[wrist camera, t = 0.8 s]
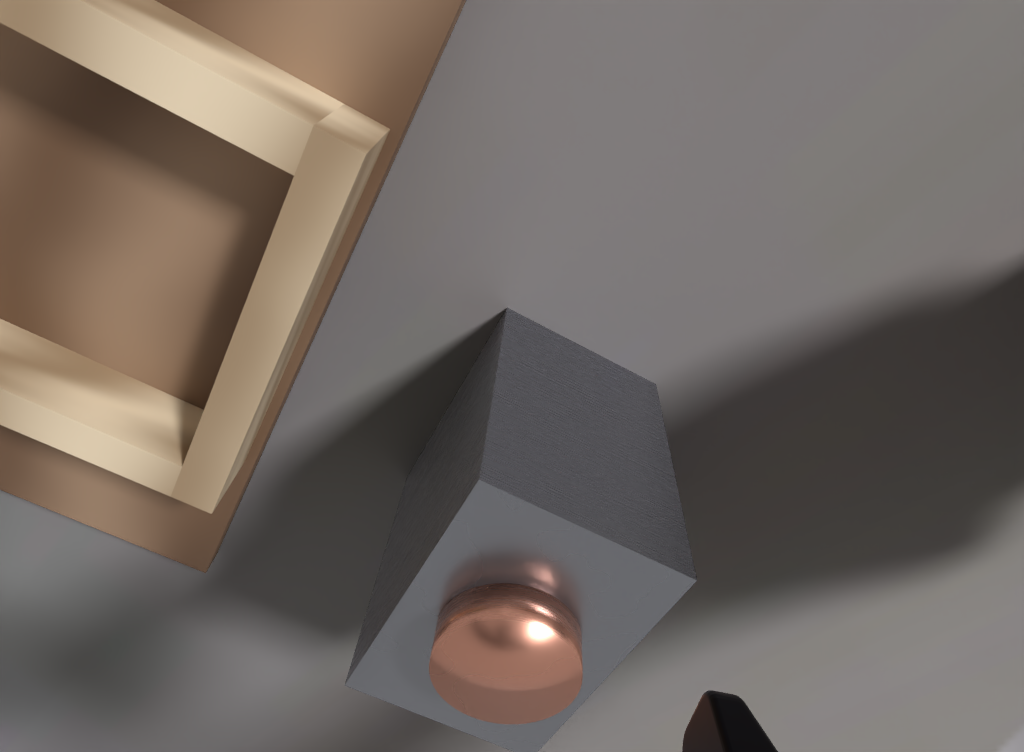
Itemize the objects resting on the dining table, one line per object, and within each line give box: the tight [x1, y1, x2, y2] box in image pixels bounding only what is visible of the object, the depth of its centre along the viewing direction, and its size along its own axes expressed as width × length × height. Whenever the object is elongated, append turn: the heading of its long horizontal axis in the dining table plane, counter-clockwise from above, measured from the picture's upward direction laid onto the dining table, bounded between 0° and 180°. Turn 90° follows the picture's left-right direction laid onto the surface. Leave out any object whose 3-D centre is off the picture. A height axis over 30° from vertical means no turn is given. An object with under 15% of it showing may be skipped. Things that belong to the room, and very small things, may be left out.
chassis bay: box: [0, 0, 466, 573], centre depth 19 cm, size 14×22×4 cm, turn 152°
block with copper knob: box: [345, 308, 697, 752], centre depth 19 cm, size 5×7×9 cm
